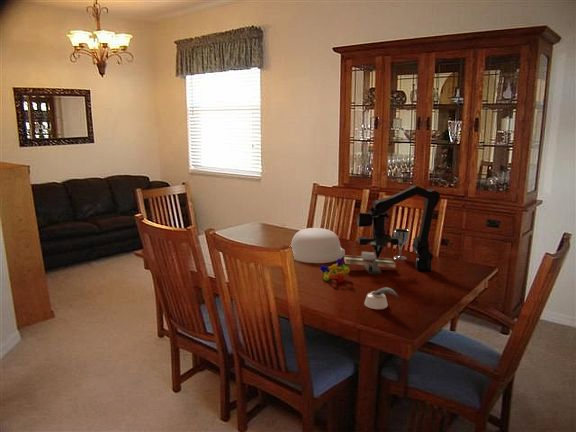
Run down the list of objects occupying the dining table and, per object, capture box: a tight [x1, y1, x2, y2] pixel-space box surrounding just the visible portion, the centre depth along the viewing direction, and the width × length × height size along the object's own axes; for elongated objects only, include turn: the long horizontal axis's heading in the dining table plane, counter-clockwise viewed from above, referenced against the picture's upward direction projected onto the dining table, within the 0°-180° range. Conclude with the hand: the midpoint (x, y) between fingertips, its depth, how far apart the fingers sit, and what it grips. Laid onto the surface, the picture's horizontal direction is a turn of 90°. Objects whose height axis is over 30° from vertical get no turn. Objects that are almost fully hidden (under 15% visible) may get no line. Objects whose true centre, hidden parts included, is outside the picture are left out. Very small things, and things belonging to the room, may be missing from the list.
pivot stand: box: [364, 262, 382, 275], centre depth 222 cm, size 6×11×6 cm, turn 0°
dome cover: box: [290, 227, 346, 264], centre depth 247 cm, size 32×30×14 cm
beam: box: [343, 254, 397, 268], centre depth 222 cm, size 24×7×3 cm, turn 90°
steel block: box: [360, 251, 376, 261], centre depth 222 cm, size 6×4×4 cm
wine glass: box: [392, 228, 410, 261], centre depth 241 cm, size 8×8×15 cm
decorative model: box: [319, 258, 351, 284], centre depth 209 cm, size 13×9×15 cm
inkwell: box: [363, 286, 399, 310], centre depth 177 cm, size 9×18×10 cm, turn 28°
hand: (377, 257), depth 222 cm, fingers closed
